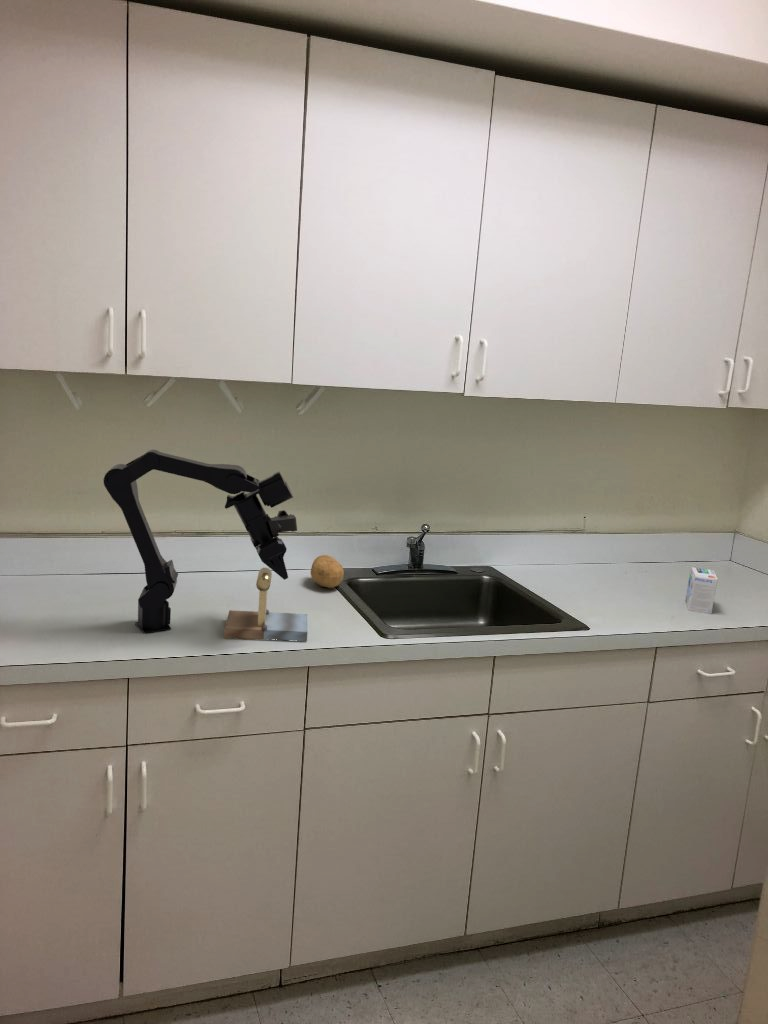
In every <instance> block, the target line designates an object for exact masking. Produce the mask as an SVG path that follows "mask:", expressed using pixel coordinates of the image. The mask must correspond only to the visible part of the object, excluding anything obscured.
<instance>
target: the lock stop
mask: <svg viewBox="0 0 768 1024" xmlns="http://www.w3.org/2000/svg"><path fill="white" fill-rule="evenodd" d="M271 570H272V569H271V568H269V567H262V568H260V569H259V570H258V572H257V573H258V574H257V579H256V589H257V590H258V592H259V596H258V611H257V612H258V626H262V625H265V619H266V609H267V610H268V608H267V606H268V590H269V589H270V588H271V582H272V577H273V572H272V571H271Z"/></svg>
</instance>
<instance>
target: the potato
mask: <svg viewBox="0 0 768 1024" xmlns="http://www.w3.org/2000/svg"><path fill="white" fill-rule="evenodd" d="M344 574H345V570H344V568H343V565H342V564H341V563H340V562H339V561H338V560H337V559H335V558H334V557H333V556H331V555H328V554H321V555H319V556H317V557H316V558H315V559H314V560H313V562H312V564H311V567H310V576H311V579H312V581H313V582H314V583H316V584H317V585H318V586H319V587H323V588H328V589H332V588H336V587H338V586H339V585H340V583H342V582H343V580H344Z"/></svg>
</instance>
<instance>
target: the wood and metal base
mask: <svg viewBox="0 0 768 1024" xmlns="http://www.w3.org/2000/svg"><path fill="white" fill-rule="evenodd" d="M223 631H224V634H223V635H224V637H223V638H224V639H228V638H238V639H237V640H251V639H275V640H276V639H277V640H297V641H307V642H308V614H307V613H295V612H293V613H291V612H290V613H289V612H274V611H273V612H271V611H270V610H269V609H268V608H267V609H266V619H265V625H262V626H258V611H252V610H250V611H249V610H233V609H231V610H228V614H227V618H226V622H225V626H224V630H223ZM297 641H296V642H297Z"/></svg>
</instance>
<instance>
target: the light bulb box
mask: <svg viewBox="0 0 768 1024" xmlns="http://www.w3.org/2000/svg"><path fill="white" fill-rule="evenodd" d="M689 571H690V573H689V577H688V581H687V582H688V584H687V588H686V592H685V593H686V594H685V598H684V599H685V604H686V608H687V611H690V612H696V613H701V614H702V613H703V614H708V615H712V612H713V607H714V602H715V601H714V600H715V596H716V591H717V585H718V580H719V578H718V577H717V575H716V572H715V570H713V569H705V568H699V567H693V566H691V567H690V570H689Z"/></svg>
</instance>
